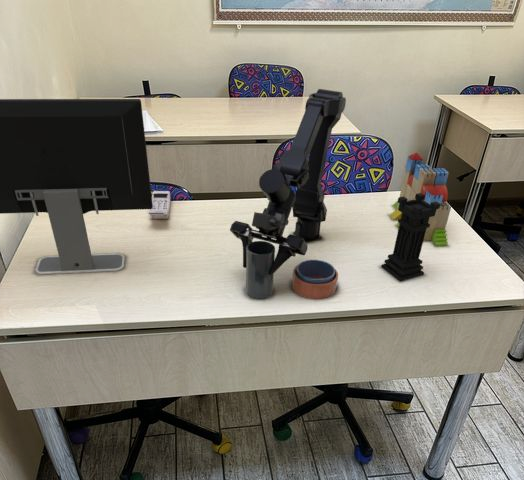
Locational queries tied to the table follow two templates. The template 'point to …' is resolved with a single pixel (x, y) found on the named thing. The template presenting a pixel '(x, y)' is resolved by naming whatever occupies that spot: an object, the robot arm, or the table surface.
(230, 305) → the table surface
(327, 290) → the stack bottom
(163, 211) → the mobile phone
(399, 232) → the chess piece
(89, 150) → the computer monitor
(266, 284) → the tumbler
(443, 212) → the block set
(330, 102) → the robot arm
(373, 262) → the table surface
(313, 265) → the stack middle
